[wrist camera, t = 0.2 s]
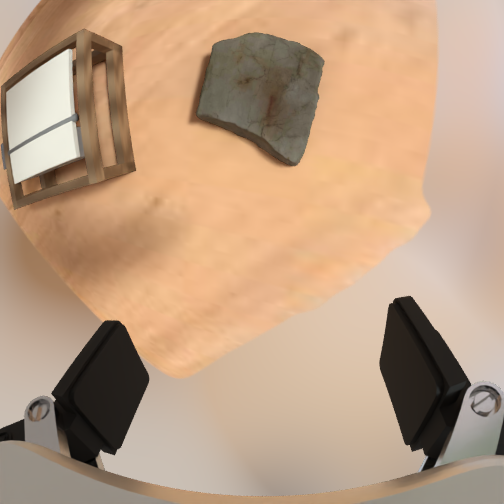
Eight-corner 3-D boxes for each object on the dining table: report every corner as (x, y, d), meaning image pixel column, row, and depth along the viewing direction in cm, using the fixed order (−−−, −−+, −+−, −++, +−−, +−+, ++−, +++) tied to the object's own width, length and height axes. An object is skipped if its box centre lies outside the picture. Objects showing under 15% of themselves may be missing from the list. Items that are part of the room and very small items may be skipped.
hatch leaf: (24, 93, 27) (4, 93, 22) (91, 53, 25) (71, 46, 21) (33, 178, 32) (12, 185, 28) (100, 152, 31) (78, 156, 26)
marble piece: (297, 166, 37) (300, 170, 33) (193, 141, 36) (184, 141, 32) (327, 58, 30) (333, 49, 26) (223, 34, 30) (217, 24, 26)
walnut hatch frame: (41, 87, 32) (1, 86, 22) (122, 46, 30) (84, 28, 20) (54, 193, 40) (14, 209, 30) (136, 170, 38) (97, 182, 28)
